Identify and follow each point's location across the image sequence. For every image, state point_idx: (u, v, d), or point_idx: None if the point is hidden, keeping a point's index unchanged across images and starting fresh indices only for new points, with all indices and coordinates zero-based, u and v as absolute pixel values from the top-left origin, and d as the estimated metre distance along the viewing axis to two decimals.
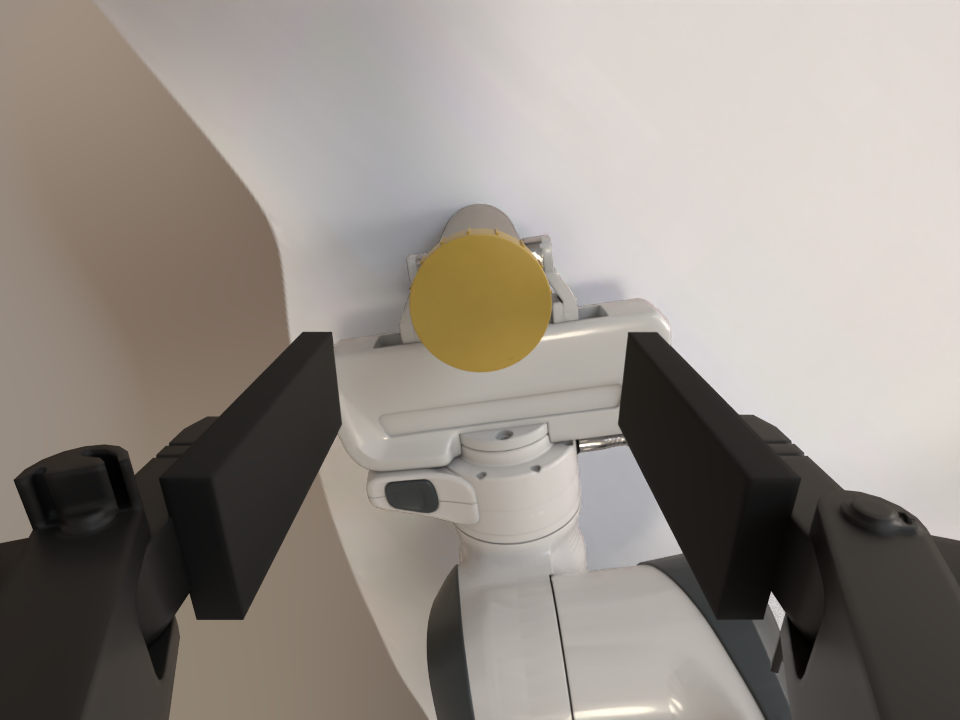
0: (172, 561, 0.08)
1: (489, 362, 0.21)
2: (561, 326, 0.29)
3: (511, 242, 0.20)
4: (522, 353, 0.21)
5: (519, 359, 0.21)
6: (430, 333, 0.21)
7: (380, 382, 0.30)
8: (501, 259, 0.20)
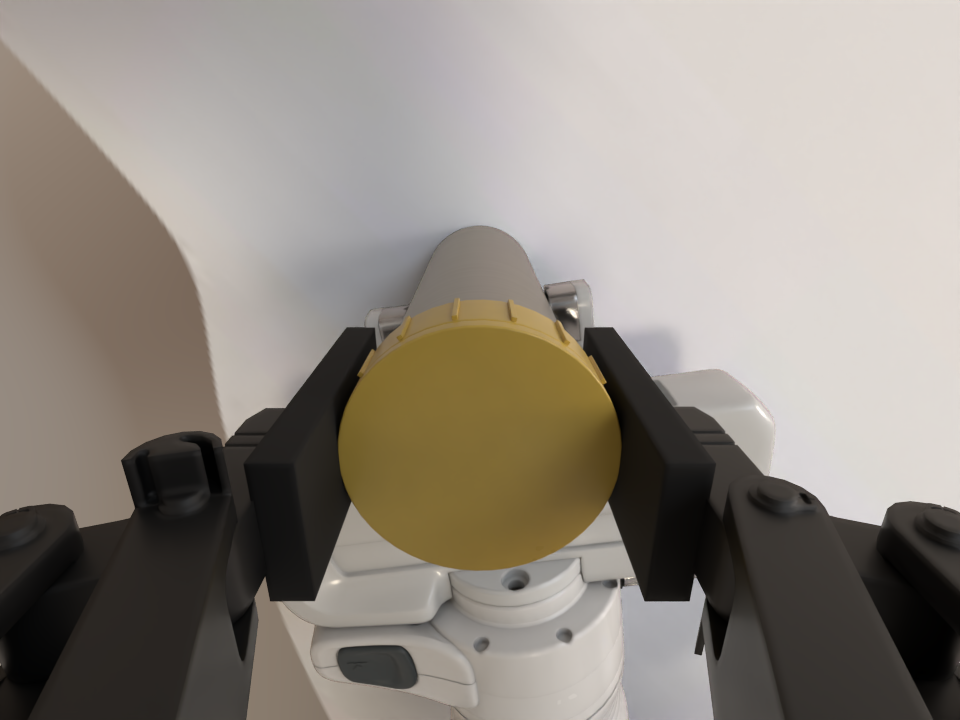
0: (253, 543, 0.08)
1: (497, 554, 0.11)
2: None
3: (544, 340, 0.09)
4: (560, 539, 0.11)
5: (554, 549, 0.11)
6: (381, 506, 0.11)
7: None
8: (522, 373, 0.10)
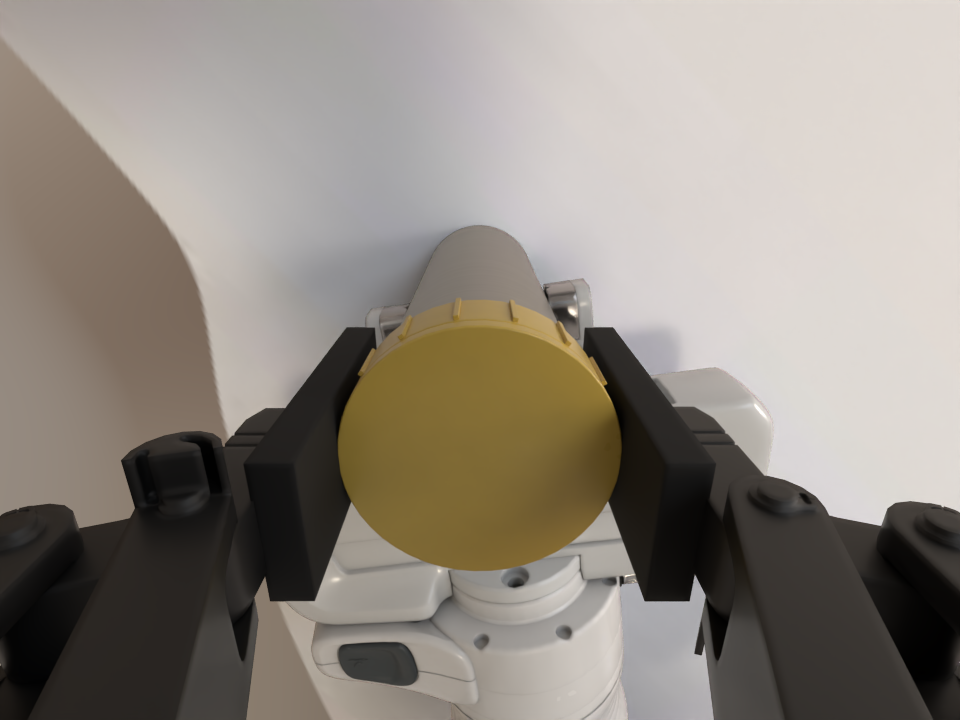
0: (253, 543, 0.08)
1: (593, 486, 0.10)
2: None
3: (378, 363, 0.10)
4: (608, 424, 0.10)
5: (617, 434, 0.10)
6: (489, 552, 0.11)
7: None
8: (403, 393, 0.10)
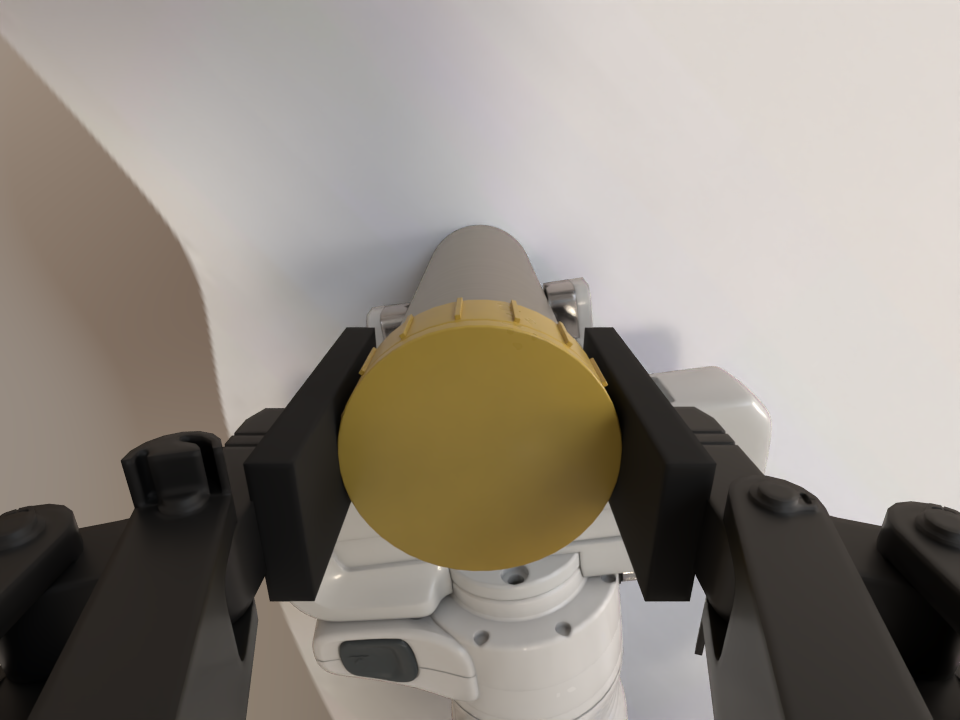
0: (253, 543, 0.08)
1: (557, 373, 0.10)
2: None
3: (351, 497, 0.11)
4: (492, 337, 0.09)
5: (507, 331, 0.09)
6: (587, 490, 0.11)
7: None
8: (385, 492, 0.11)
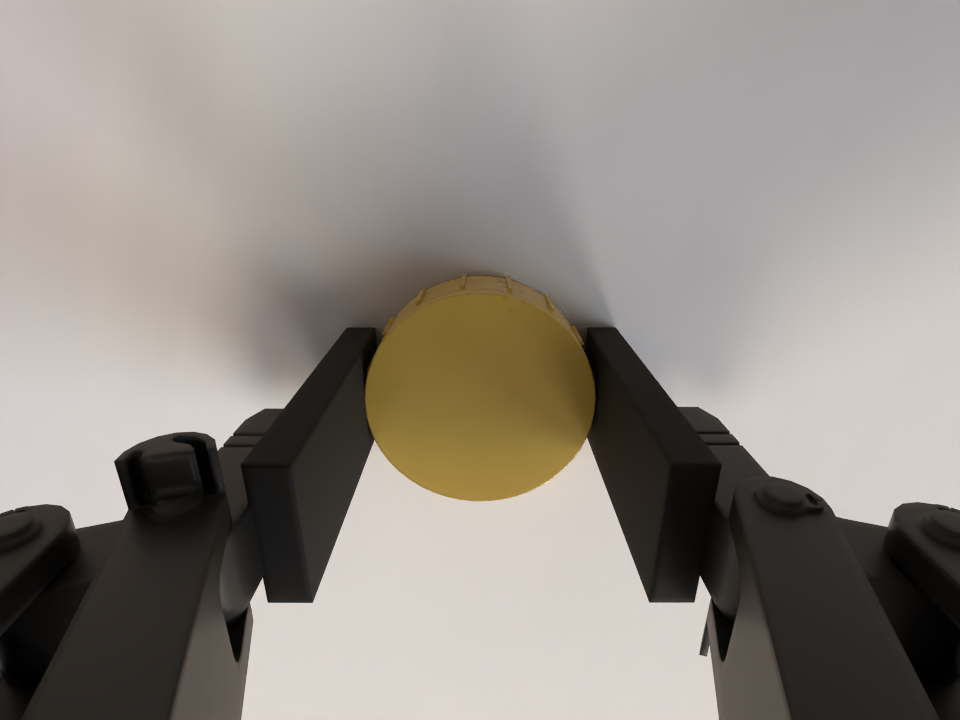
0: (250, 544, 0.08)
1: (542, 332, 0.12)
2: None
3: (375, 437, 0.13)
4: (489, 302, 0.12)
5: (501, 298, 0.12)
6: (567, 431, 0.13)
7: None
8: (402, 432, 0.13)
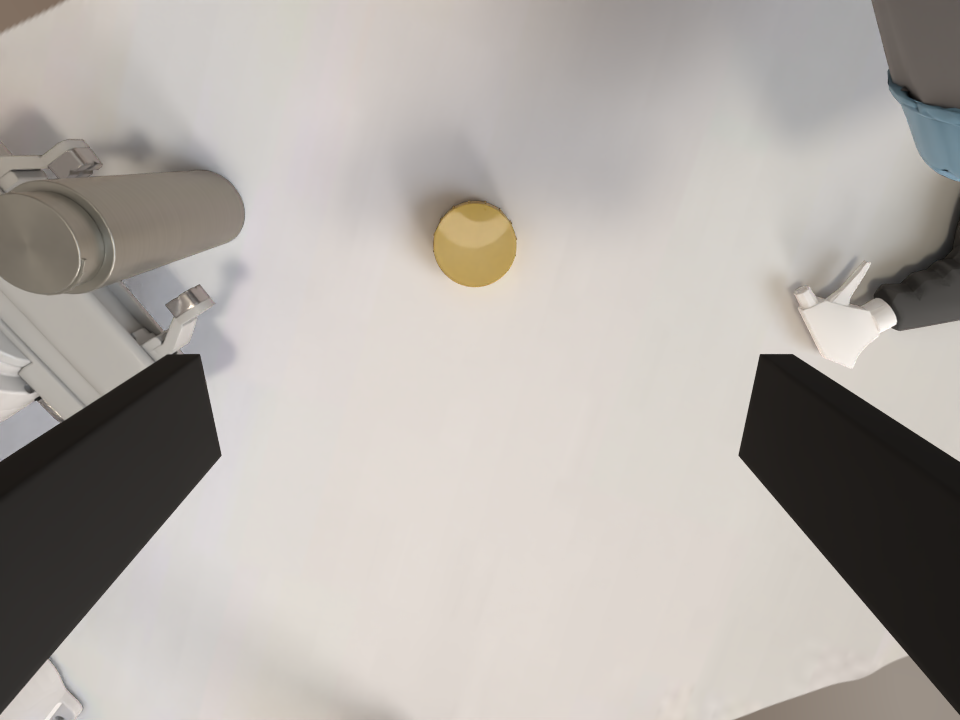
0: None
1: (496, 217, 0.34)
2: (121, 332, 0.31)
3: (436, 259, 0.36)
4: (478, 206, 0.34)
5: (482, 205, 0.34)
6: (506, 256, 0.35)
7: None
8: (446, 257, 0.35)
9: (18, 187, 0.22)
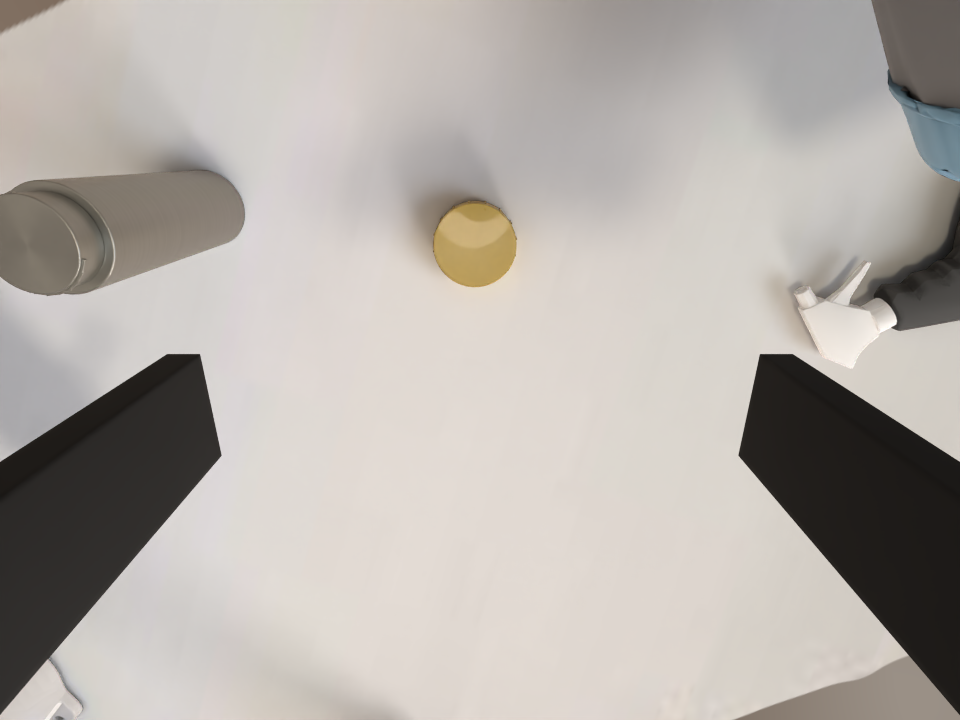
0: None
1: (496, 217, 0.34)
2: None
3: (436, 259, 0.36)
4: (478, 206, 0.34)
5: (482, 205, 0.34)
6: (506, 256, 0.35)
7: None
8: (446, 257, 0.35)
9: (18, 187, 0.22)
